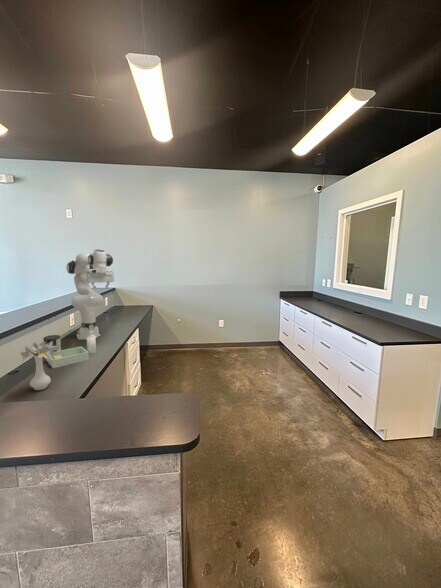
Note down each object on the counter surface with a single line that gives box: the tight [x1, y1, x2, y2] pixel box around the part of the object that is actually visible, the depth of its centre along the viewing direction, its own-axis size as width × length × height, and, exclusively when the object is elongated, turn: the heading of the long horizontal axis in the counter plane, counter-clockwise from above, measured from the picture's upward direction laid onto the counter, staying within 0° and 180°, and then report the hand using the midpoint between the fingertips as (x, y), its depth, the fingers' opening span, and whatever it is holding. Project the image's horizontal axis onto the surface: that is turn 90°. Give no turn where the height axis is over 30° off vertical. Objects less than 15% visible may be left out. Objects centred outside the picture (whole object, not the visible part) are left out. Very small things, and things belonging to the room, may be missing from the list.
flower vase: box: [20, 341, 57, 391], centre depth 136 cm, size 13×18×25 cm
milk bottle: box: [86, 328, 97, 354], centre depth 189 cm, size 6×6×19 cm
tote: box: [46, 346, 90, 369], centre depth 172 cm, size 16×22×6 cm
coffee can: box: [43, 334, 62, 352], centre depth 180 cm, size 10×10×14 cm
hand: (100, 288), depth 197 cm, fingers open, 8 cm apart
